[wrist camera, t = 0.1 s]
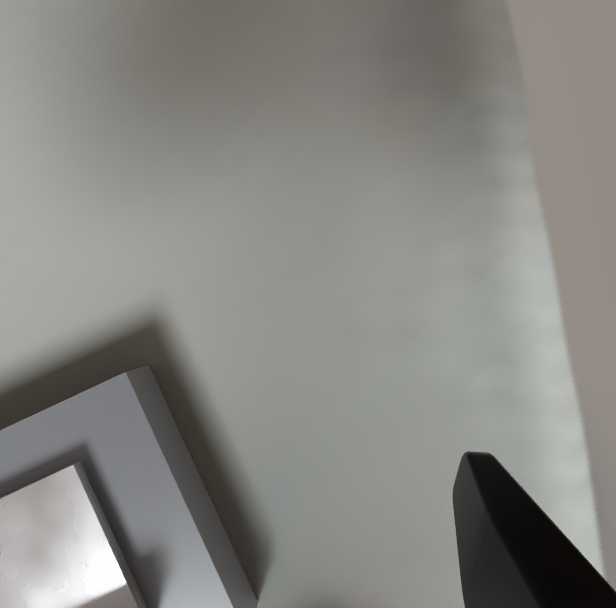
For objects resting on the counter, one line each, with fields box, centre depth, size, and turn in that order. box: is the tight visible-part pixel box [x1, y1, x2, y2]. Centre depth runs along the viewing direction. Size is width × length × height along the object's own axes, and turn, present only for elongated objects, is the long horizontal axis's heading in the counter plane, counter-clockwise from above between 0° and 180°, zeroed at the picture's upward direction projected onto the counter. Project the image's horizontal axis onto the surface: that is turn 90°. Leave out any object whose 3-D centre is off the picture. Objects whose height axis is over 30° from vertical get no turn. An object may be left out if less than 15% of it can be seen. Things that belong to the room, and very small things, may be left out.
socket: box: [0, 365, 258, 608], centre depth 22 cm, size 11×11×3 cm
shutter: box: [0, 461, 147, 608], centre depth 19 cm, size 6×6×3 cm
